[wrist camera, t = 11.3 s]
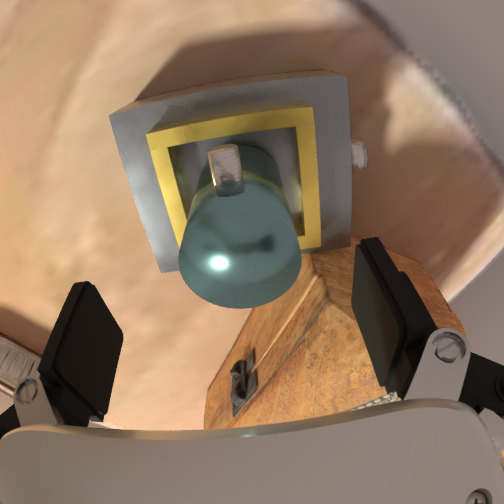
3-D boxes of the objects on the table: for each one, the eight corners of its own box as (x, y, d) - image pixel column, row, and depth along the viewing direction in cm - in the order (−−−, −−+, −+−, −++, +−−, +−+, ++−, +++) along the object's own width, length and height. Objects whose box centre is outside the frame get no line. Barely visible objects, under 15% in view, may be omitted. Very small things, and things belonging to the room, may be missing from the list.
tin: (-13, 331, 36) (-34, 372, 29) (-14, 320, 34) (-36, 363, 28) (65, 374, 41) (51, 419, 34) (68, 366, 40) (52, 413, 33)
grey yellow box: (133, 101, 20) (99, 121, 15) (346, 69, 20) (382, 77, 14) (172, 236, 27) (157, 286, 22) (351, 211, 27) (377, 256, 21)
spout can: (185, 124, 17) (149, 177, 11) (272, 110, 17) (293, 154, 10) (208, 224, 21) (195, 313, 15) (284, 213, 21) (304, 300, 14)
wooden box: (290, 207, 26) (325, 341, 15) (426, 262, 30) (487, 365, 19) (194, 387, 42) (188, 477, 31) (297, 404, 46) (307, 484, 35)
